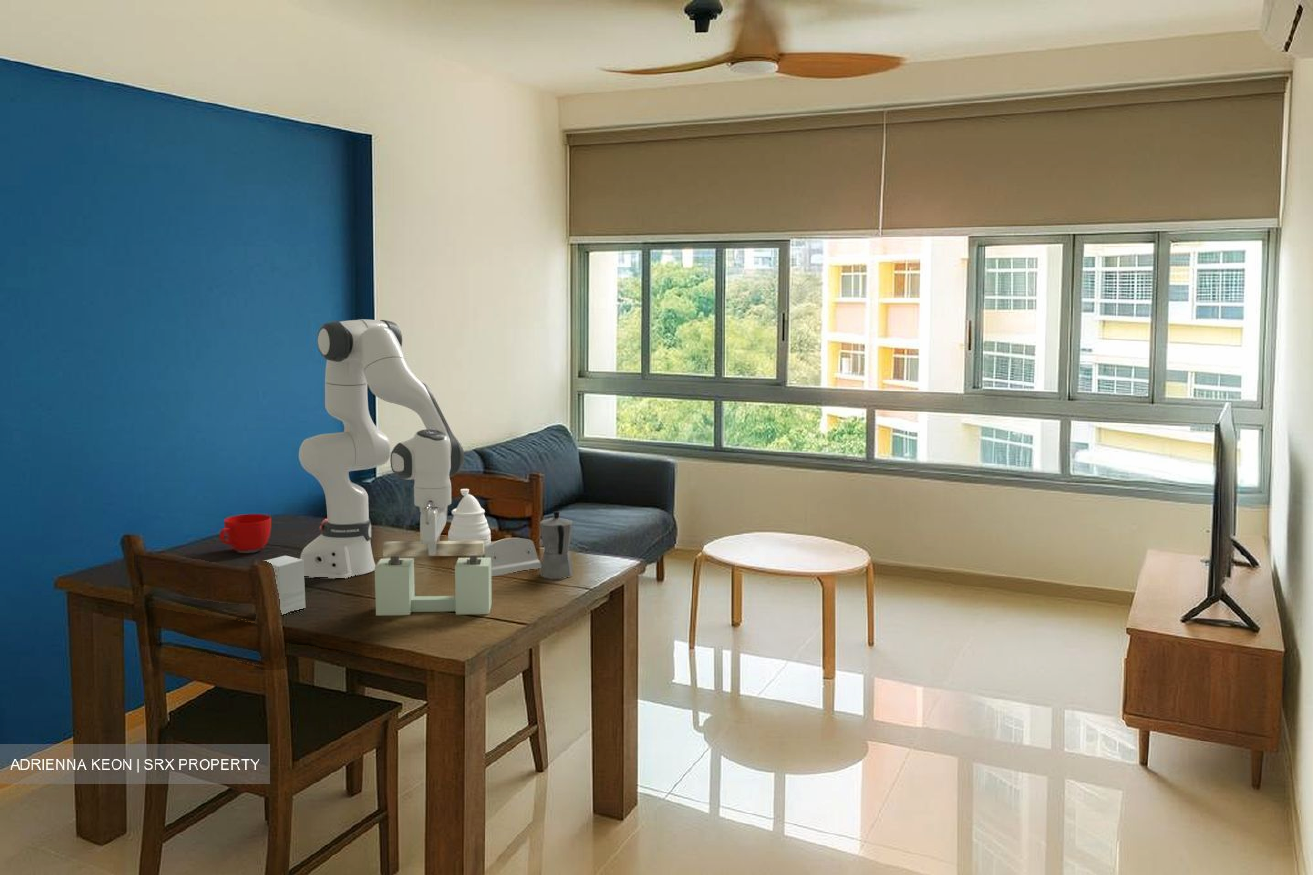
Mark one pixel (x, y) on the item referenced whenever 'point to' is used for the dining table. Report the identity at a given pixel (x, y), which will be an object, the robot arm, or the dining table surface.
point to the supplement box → (289, 582)
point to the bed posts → (400, 596)
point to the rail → (443, 549)
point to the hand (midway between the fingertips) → (434, 552)
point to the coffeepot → (556, 547)
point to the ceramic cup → (247, 531)
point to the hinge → (511, 556)
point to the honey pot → (469, 521)
